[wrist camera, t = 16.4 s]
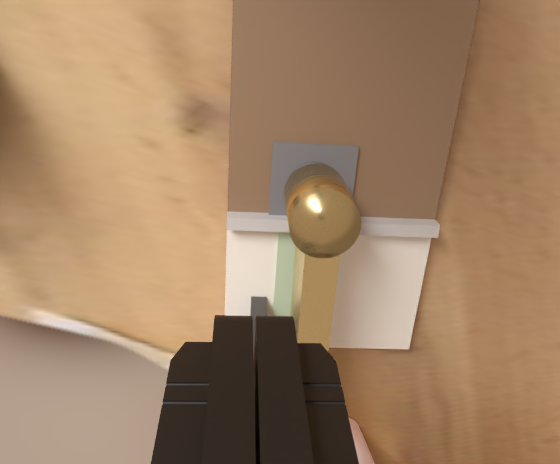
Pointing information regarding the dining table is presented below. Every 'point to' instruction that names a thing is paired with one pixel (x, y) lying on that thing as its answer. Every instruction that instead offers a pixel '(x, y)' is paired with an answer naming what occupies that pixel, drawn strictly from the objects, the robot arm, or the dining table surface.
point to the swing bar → (318, 245)
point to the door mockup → (343, 148)
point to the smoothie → (360, 444)
